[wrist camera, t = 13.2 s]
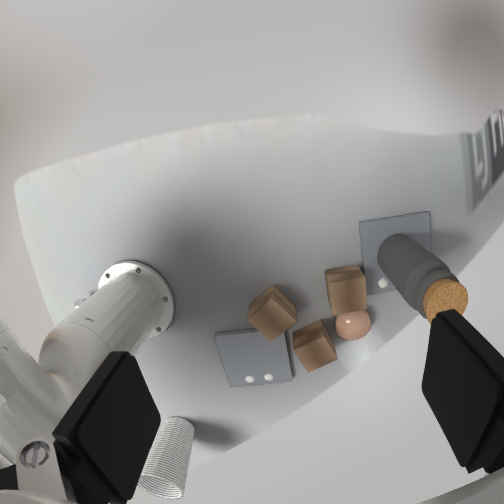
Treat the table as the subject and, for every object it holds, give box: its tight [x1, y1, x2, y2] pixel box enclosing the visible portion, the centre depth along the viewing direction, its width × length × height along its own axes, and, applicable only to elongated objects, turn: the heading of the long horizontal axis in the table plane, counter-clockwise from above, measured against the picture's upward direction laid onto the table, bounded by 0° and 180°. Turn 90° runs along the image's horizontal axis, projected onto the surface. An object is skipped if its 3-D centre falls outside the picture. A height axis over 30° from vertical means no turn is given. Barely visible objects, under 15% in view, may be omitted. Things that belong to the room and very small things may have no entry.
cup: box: [138, 417, 195, 499], centre depth 46 cm, size 8×8×16 cm
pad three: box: [359, 211, 431, 295], centre depth 39 cm, size 10×10×1 cm
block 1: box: [247, 285, 297, 342], centre depth 41 cm, size 4×4×4 cm
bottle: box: [377, 234, 468, 324], centre depth 31 cm, size 6×6×15 cm
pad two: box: [214, 329, 292, 387], centre depth 45 cm, size 10×10×1 cm
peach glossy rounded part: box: [335, 310, 371, 340], centre depth 42 cm, size 5×5×2 cm
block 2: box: [293, 320, 337, 372], centre depth 42 cm, size 4×4×4 cm
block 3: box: [325, 265, 367, 316], centre depth 39 cm, size 4×4×4 cm
